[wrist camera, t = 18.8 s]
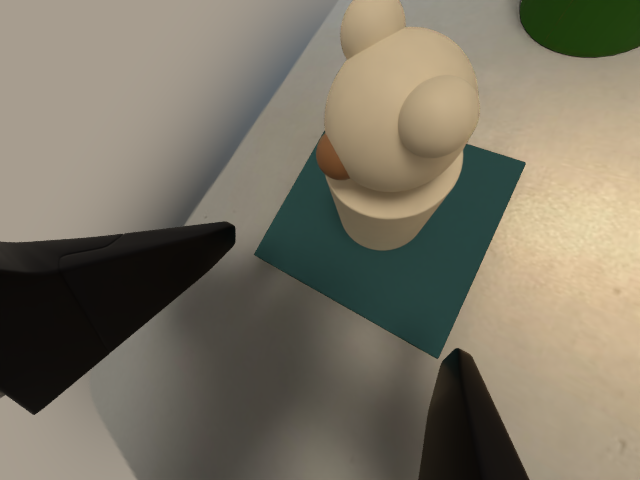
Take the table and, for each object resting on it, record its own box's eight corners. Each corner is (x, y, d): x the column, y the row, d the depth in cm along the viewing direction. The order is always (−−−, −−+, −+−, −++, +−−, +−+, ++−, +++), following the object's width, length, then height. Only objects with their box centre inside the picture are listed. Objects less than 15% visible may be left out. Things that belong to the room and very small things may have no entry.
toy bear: (398, 158, 15) (452, -87, 6) (442, 226, 14) (620, 58, 4) (325, 195, 16) (255, 27, 6) (361, 266, 14) (345, 196, 4)
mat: (433, 355, 13) (438, 359, 12) (259, 257, 17) (253, 254, 16) (516, 170, 15) (526, 162, 14) (341, 113, 18) (339, 103, 17)
